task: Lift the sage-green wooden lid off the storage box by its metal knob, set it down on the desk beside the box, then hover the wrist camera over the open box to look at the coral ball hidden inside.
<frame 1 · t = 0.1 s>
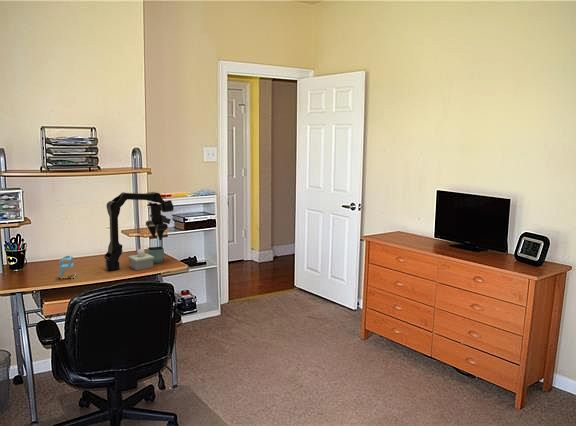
hand: (157, 238, 310), 15 cm above the table, fingers open, 9 cm apart
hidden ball: (141, 267, 300), point 1 cm above the table, touching storage box
lid: (141, 258, 299), point 6 cm above the table, touching storage box
chair: (67, 278, 282), on the table
storage box: (141, 268, 300), on the table
flower pot: (156, 263, 312), on the table
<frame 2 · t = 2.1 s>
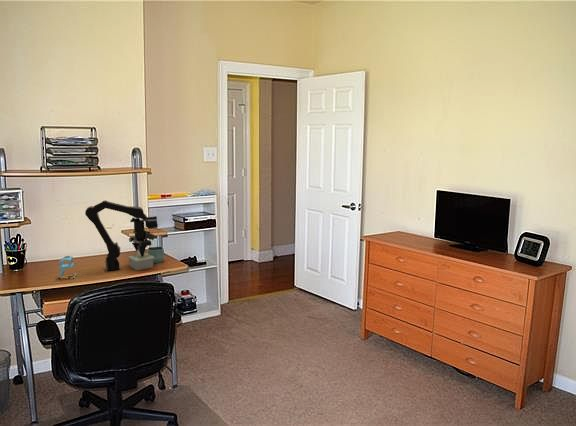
hand: (140, 255, 299), 8 cm above the table, fingers closed on lid, 4 cm apart
lid: (141, 258, 299), point 6 cm above the table, touching gripper, storage box
everything else where it was.
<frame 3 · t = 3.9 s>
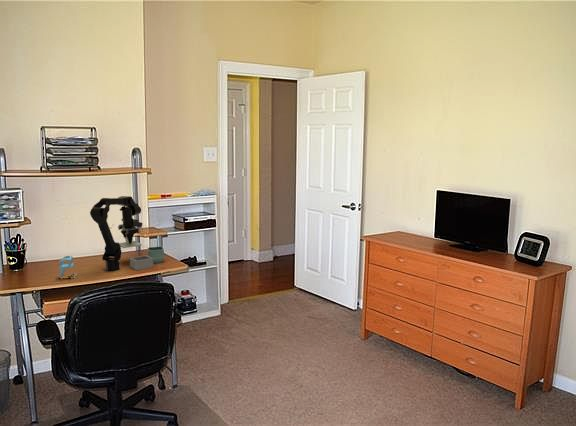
hand: (129, 242, 309), 13 cm above the table, fingers closed on lid, 4 cm apart
lid: (129, 245, 309), point 11 cm above the table, touching gripper
everything else where it was.
when the fingers open (3 cm above the table, at t = 6.1 s): lid drops 2 cm, on the table.
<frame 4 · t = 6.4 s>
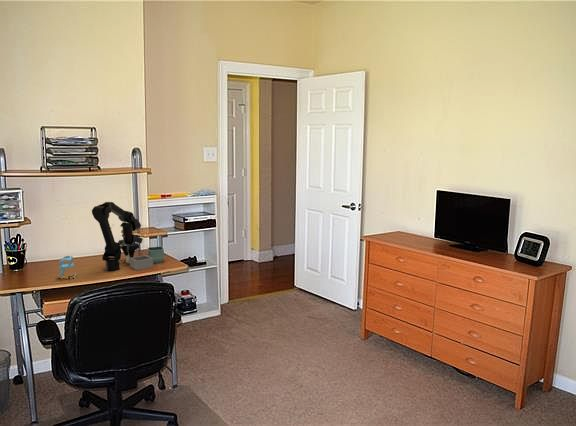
hand: (129, 258, 311), 3 cm above the table, fingers open, 7 cm apart
lid: (129, 264, 312), on the table
everything else where it was.
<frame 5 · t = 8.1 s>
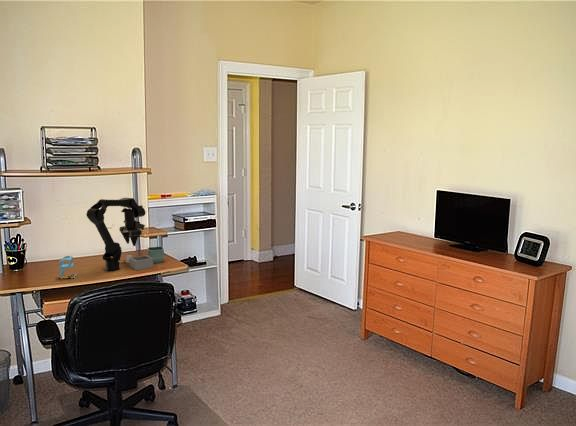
hand: (131, 244, 307), 12 cm above the table, fingers open, 9 cm apart
nothing on the table moved.
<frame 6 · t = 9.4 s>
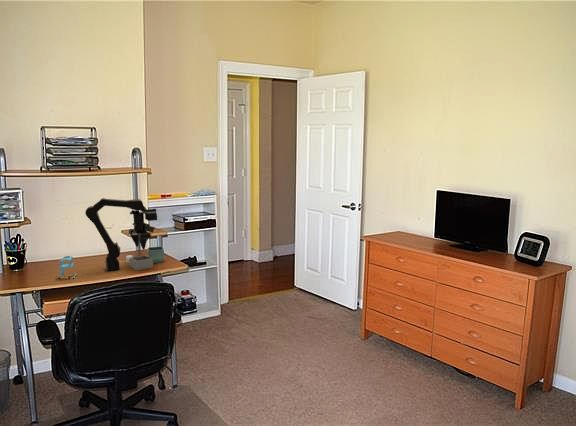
hand: (140, 248, 298), 12 cm above the table, fingers open, 9 cm apart
nothing on the table moved.
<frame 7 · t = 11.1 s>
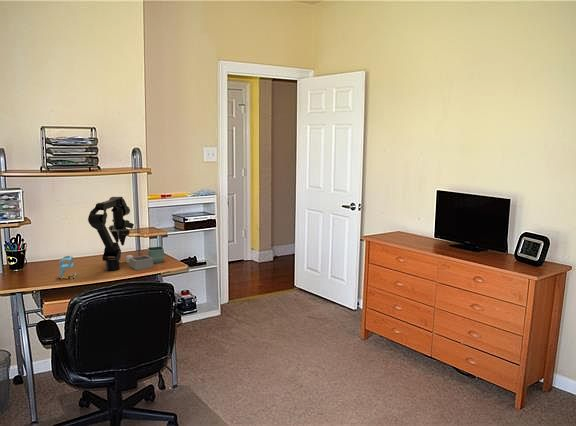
hand: (120, 244, 304), 13 cm above the table, fingers open, 9 cm apart
nothing on the table moved.
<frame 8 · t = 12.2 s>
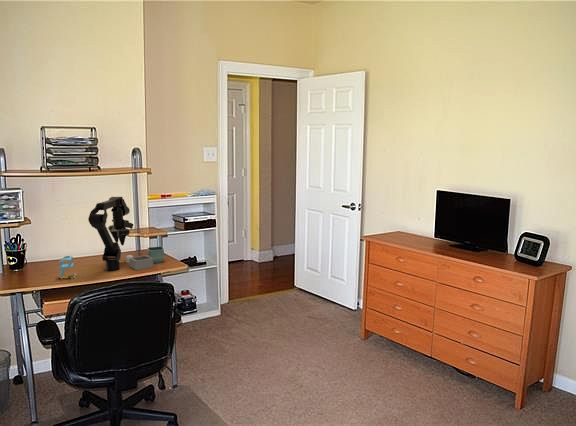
hand: (119, 244, 304), 13 cm above the table, fingers open, 9 cm apart
nothing on the table moved.
at the end: lid moved 17.3 cm from its start; lid inside the target area (0.1 cm from its centre), on the table; lid tilted 0° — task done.
